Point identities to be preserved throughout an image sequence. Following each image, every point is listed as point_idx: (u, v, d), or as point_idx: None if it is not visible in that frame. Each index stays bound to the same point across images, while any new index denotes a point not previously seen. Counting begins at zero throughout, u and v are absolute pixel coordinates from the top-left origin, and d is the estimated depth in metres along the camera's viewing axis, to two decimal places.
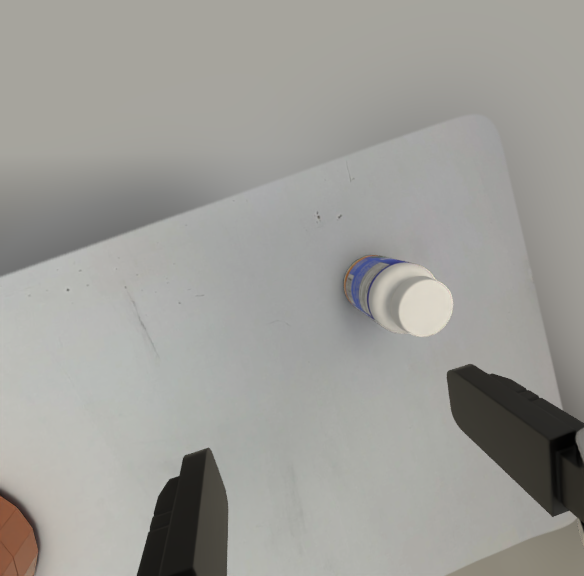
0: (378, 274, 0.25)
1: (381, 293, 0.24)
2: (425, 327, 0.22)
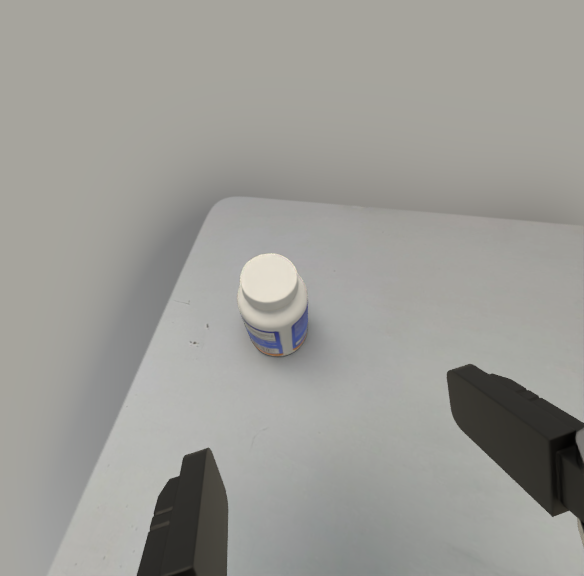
0: None
1: (247, 311, 0.24)
2: (284, 284, 0.22)
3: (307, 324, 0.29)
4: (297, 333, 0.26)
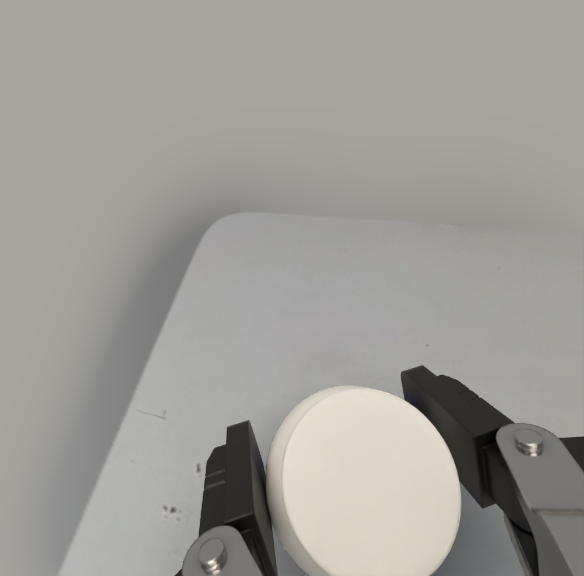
0: None
1: (298, 549, 0.09)
2: (426, 511, 0.07)
3: None
4: None
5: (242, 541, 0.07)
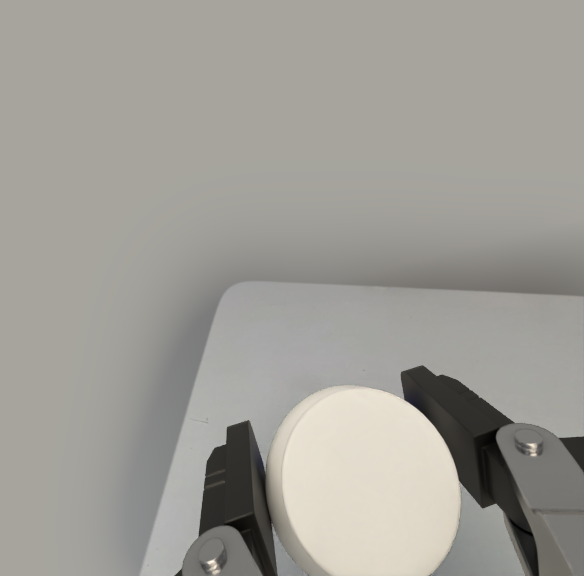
0: None
1: (298, 548, 0.09)
2: (426, 511, 0.07)
3: None
4: None
5: (242, 541, 0.07)
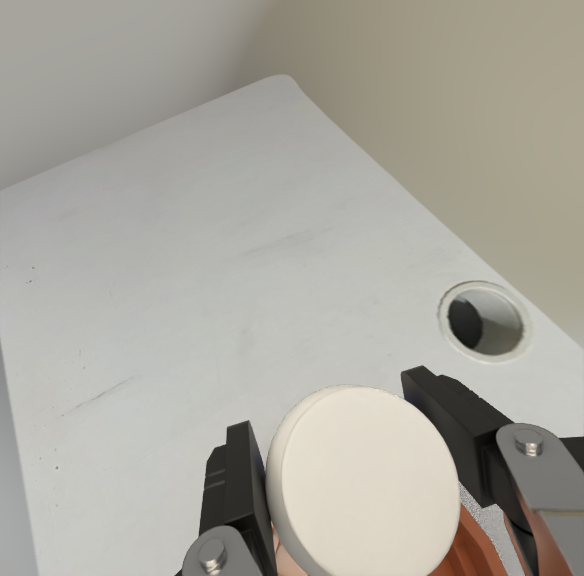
0: None
1: (298, 548, 0.09)
2: (425, 510, 0.07)
3: None
4: None
5: (242, 541, 0.07)
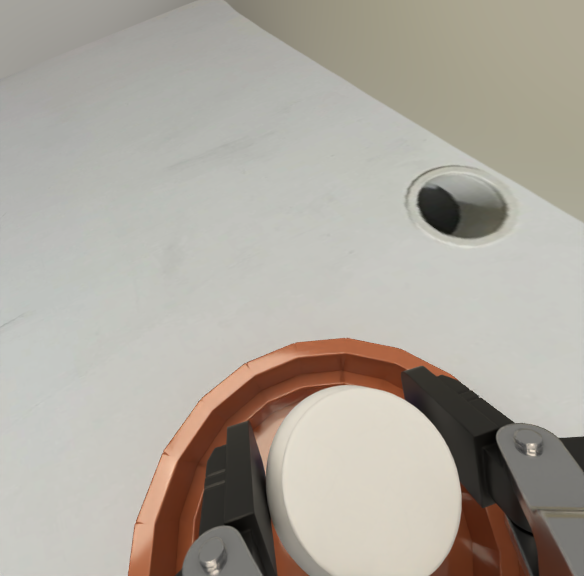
0: None
1: (298, 548, 0.09)
2: (426, 511, 0.07)
3: None
4: None
5: (242, 541, 0.07)
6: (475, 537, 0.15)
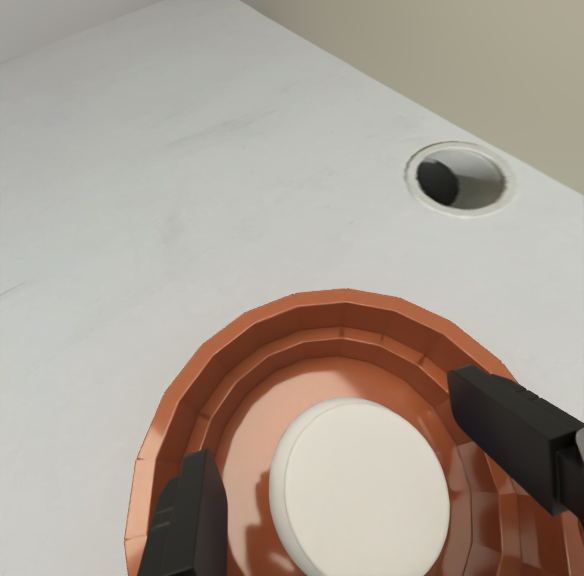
0: None
1: (299, 552, 0.09)
2: (417, 519, 0.08)
3: None
4: None
5: None
6: (474, 486, 0.15)
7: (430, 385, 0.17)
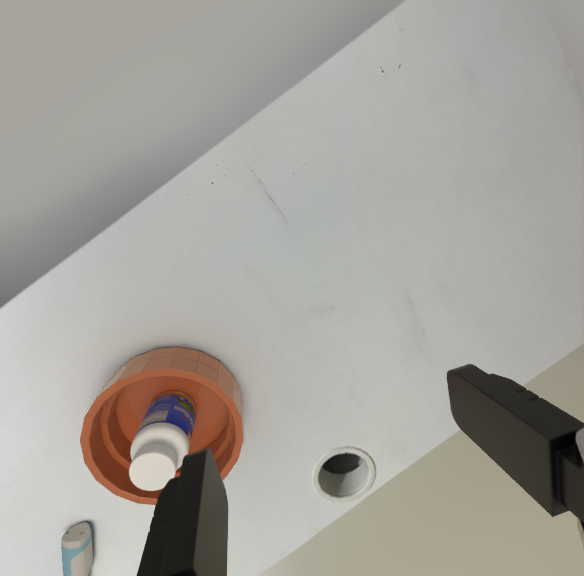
0: (151, 423, 0.32)
1: (139, 440, 0.31)
2: (145, 483, 0.30)
3: None
4: None
5: None
6: None
7: None
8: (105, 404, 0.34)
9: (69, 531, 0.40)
